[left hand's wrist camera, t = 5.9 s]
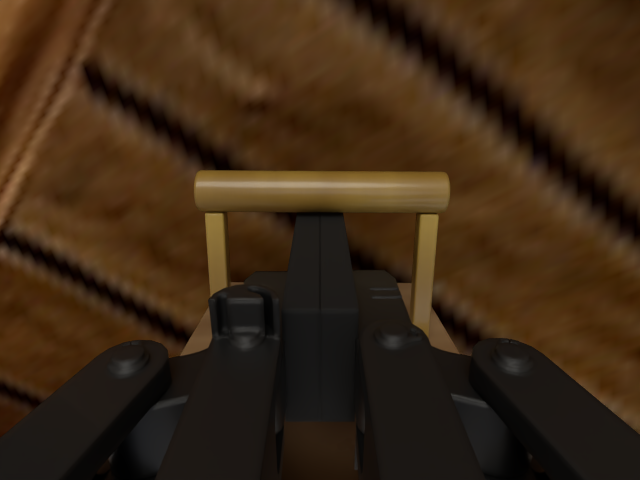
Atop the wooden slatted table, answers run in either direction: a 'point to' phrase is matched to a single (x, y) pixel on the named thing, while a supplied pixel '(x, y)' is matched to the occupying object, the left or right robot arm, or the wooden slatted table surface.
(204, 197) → the drawer
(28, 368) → the wooden slatted table surface
